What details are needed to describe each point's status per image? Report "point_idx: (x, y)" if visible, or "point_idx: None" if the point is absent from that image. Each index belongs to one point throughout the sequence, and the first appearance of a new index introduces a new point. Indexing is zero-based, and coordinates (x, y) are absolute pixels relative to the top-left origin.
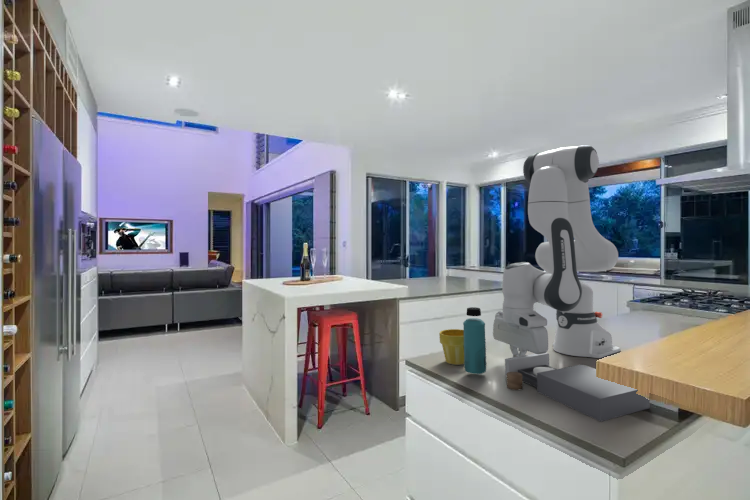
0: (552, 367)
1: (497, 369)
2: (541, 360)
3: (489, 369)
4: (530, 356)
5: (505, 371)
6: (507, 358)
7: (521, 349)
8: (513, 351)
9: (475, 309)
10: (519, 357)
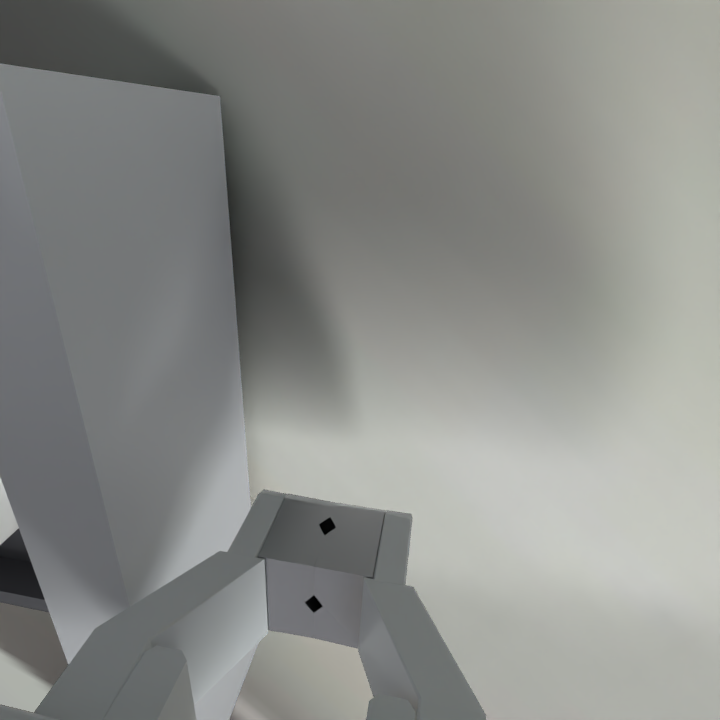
0: (47, 609)
1: (520, 221)
2: None
3: (609, 91)
4: (53, 615)
5: (182, 91)
6: (4, 155)
7: (49, 692)
8: (389, 641)
9: None
10: (35, 452)
